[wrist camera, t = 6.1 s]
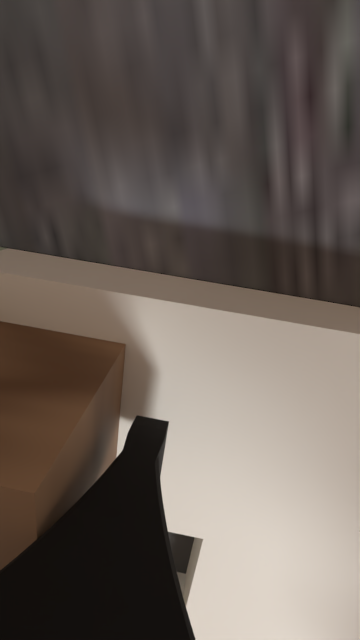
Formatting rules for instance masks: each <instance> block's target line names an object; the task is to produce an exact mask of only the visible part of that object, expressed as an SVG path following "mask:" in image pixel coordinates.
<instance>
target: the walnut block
mask: <svg viewBox="0 0 360 640" xmlns="http://www.w3.org/2000/svg"><path fill="white" fill-rule="evenodd" d="M125 347H126V344H123V343H117V342H112V341H106V340H101V339H95V338H90V337H84V336H79V335H74V334H68V333H63V332H57V331H52V330H46V329H41V328H35V327H30V326H24V325H19V324H13V323H8V322H3V321H0V570H1V569H3V568H4V567H5V566H6V565H7V564H9V563H10V562H11V561H12V560H13V559H15V558H16V557H17V556H18V555H19V554H20V553H22V552H23V551H24V550H25V549H26V548H27V547H29V546H30V545H31V544H32V543H33V542H34V541H36V540H37V539H38V538H39V537H40V536H41V535H42V534H43V533H45V532H46V531H47V530H48V529H49V528H50V527H51V526H52V525H53V524H54V523H55V522H56V521H58V520H59V519H60V518H61V517H62V516H63V515H64V514H65V513H66V512H67V511H68V510H69V509H70V508H71V507H72V506H73V505H74V504H75V503H76V502H77V501H78V500H79V499H80V498H81V497H82V496H83V495H84V494H85V493H86V491H87V490H88V489H89V488H90V487H91V486H92V485H93V484H94V483H95V482H96V481H97V480H98V479H99V478H100V476H101V475H102V474H103V473H104V472H105V471H106V470H107V468H108V467H109V466H110V465H111V464H112V462H113V461H114V460H115V459H116V456H117V444H118V432H119V420H120V408H121V396H122V384H123V372H124V359H125Z"/></svg>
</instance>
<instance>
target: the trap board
mask: <svg viewBox="0 0 360 640" xmlns="http://www.w3.org/2000/svg"><path fill="white" fill-rule="evenodd" d="M0 321H3V322H8V323H13V324H19V325H24V326H30V327H35V328H41V329H46V330H52V331H57V332H63V333H68V334H74V335H79V336H84V337H90V338H95V339H101V340H106V341H112V342H117V343H123V344H126V347H125V359H124V372H123V384H122V396H121V408H120V420H119V432H118V444H117V456H118V455H119V454H120V453H121V452H122V450H123V448H124V444H125V441H126V437H127V434H128V431H129V429H130V427H131V425H132V423H133V421H134V419H135V418H136V416H137V415H139V416H144V417H149V418H154V419H159V420H164V421H169V425H168V431H167V438H166V444H165V450H164V456H163V463H162V469H161V475H160V482H161V492H162V499H163V506H164V512H165V518H166V524H167V530H168V535H169V540H170V545H171V549H172V554H173V558H174V563H175V567H176V571H177V575H178V579H179V583H180V587H181V591H182V595H183V599H184V602H185V606H186V609H187V613H188V616H189V619H190V623H191V626H192V629H193V633H194V636H195V640H360V307H355V306H349V305H343V304H337V303H331V302H325V301H319V300H313V299H307V298H301V297H295V296H289V295H283V294H278V293H272V292H266V291H260V290H254V289H248V288H242V287H236V286H230V285H224V284H218V283H212V282H206V281H200V280H194V279H188V278H182V277H176V276H170V275H164V274H159V273H153V272H147V271H141V270H135V269H129V268H123V267H117V266H111V265H105V264H99V263H93V262H87V261H81V260H75V259H69V258H63V257H57V256H51V255H45V254H40V253H34V252H28V251H22V250H16V249H10V248H4V247H0ZM117 456H116V458H117Z"/></svg>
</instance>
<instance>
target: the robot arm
mask: <svg viewBox="0 0 360 640" xmlns="http://www.w3.org/2000/svg"><path fill="white" fill-rule="evenodd" d="M168 425H169V421H164V420H159V419H154V418H149V417H144V416H139V415H137V416H136V418H135V419H134V421H133V423H132V425H131V427H130V429H129V431H128V434H127V437H126V441H125V444H124V448H123V450H122V452H121V453H120V454H119V455H118V456H117V458H116V459H115V460H114V461H113V462H112V464H111V465H110V466H109V467H108V468H107V470H106V471H105V472H104V473H103V474H102V475H101V476H100V478H99V479H98V480H97V481H96V482H95V483H94V484H93V485H92V486H91V487H90V488H89V489H88V490H87V491H86V493H85V494H84V495H83V496H82V497H81V498H80V499H79V500H78V501H77V502H76V503H75V504H74V505H73V506H72V507H71V508H70V509H69V510H68V511H67V512H66V513H65V514H64V515H63V516H62V517H61V518H60V519H59V520H58V521H56V522H55V523H54V524H53V525H52V526H51V527H50V528H49V529H48V530H47V531H46V532H45V533H43V534H42V535H41V536H40V537H39V538H38V539H37V540H36V541H34V542H33V543H32V544H31V545H30V546H29V547H27V548H26V549H25V550H24V551H23V552H22V553H20V554H19V555H18V556H17V557H16V558H15V559H13V560H12V561H11V562H10V563H9V564H7V565H6V566H5V567H4V568H3V569H1V570H0V640H195V636H194V633H193V629H192V626H191V623H190V619H189V616H188V613H187V609H186V606H185V602H184V599H183V595H182V591H181V587H180V583H179V579H178V575H177V571H176V567H175V563H174V558H173V554H172V549H171V545H170V540H169V535H168V530H167V524H166V518H165V512H164V506H163V499H162V492H161V482H160V475H161V469H162V463H163V456H164V450H165V444H166V438H167V431H168Z"/></svg>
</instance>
